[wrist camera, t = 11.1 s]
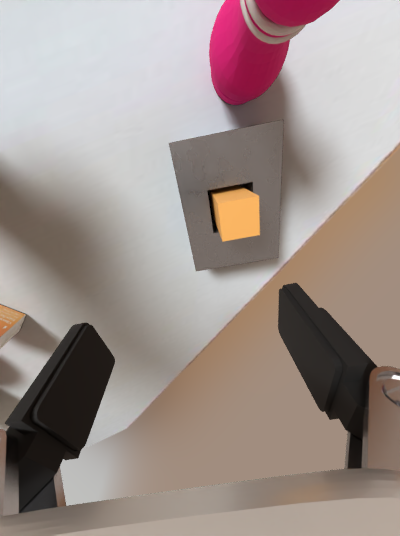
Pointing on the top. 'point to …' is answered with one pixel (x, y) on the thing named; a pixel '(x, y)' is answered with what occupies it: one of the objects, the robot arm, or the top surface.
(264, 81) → the pepper mill
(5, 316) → the small box
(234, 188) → the wedge peg
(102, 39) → the top surface
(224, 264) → the socket block
